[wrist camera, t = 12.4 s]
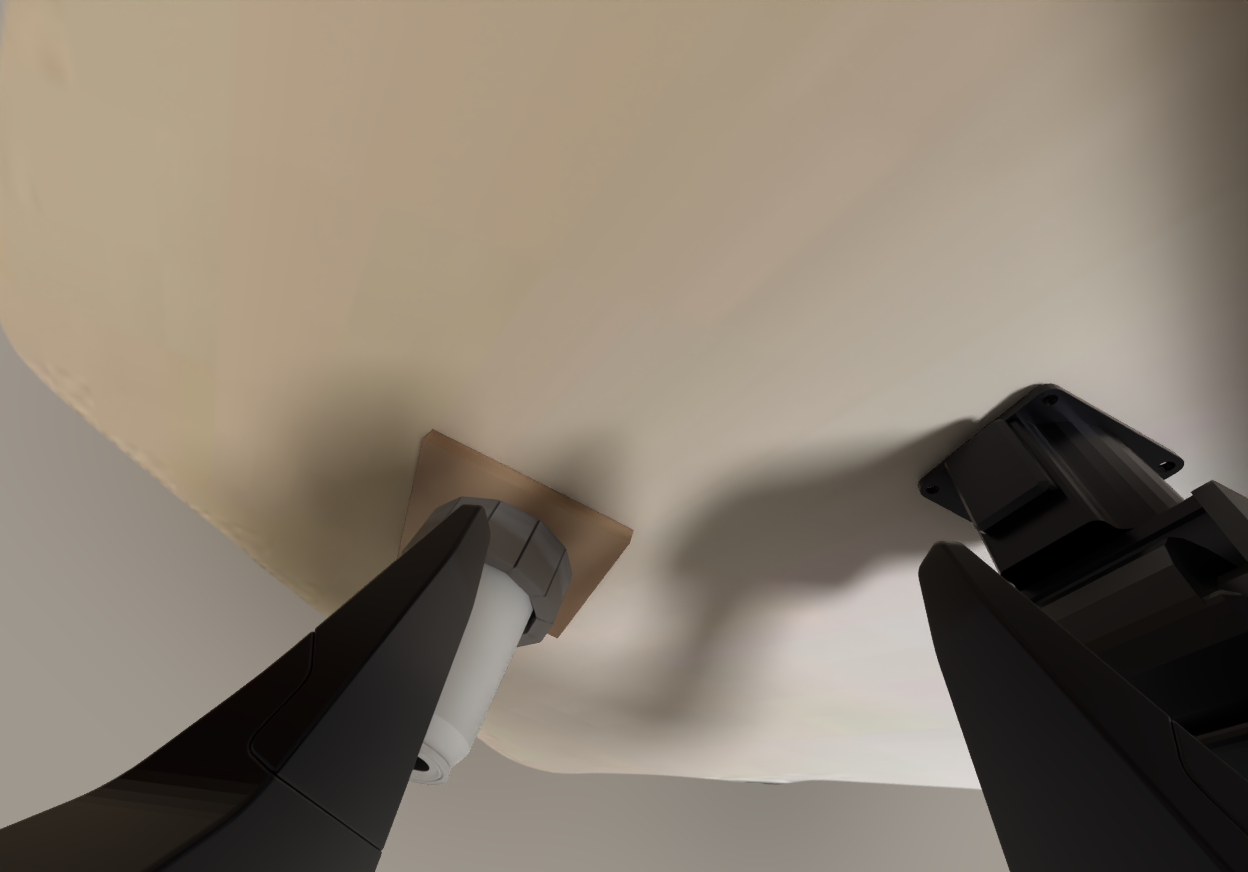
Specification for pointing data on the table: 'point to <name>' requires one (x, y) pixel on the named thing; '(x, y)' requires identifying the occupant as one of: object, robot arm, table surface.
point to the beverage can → (473, 675)
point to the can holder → (518, 530)
